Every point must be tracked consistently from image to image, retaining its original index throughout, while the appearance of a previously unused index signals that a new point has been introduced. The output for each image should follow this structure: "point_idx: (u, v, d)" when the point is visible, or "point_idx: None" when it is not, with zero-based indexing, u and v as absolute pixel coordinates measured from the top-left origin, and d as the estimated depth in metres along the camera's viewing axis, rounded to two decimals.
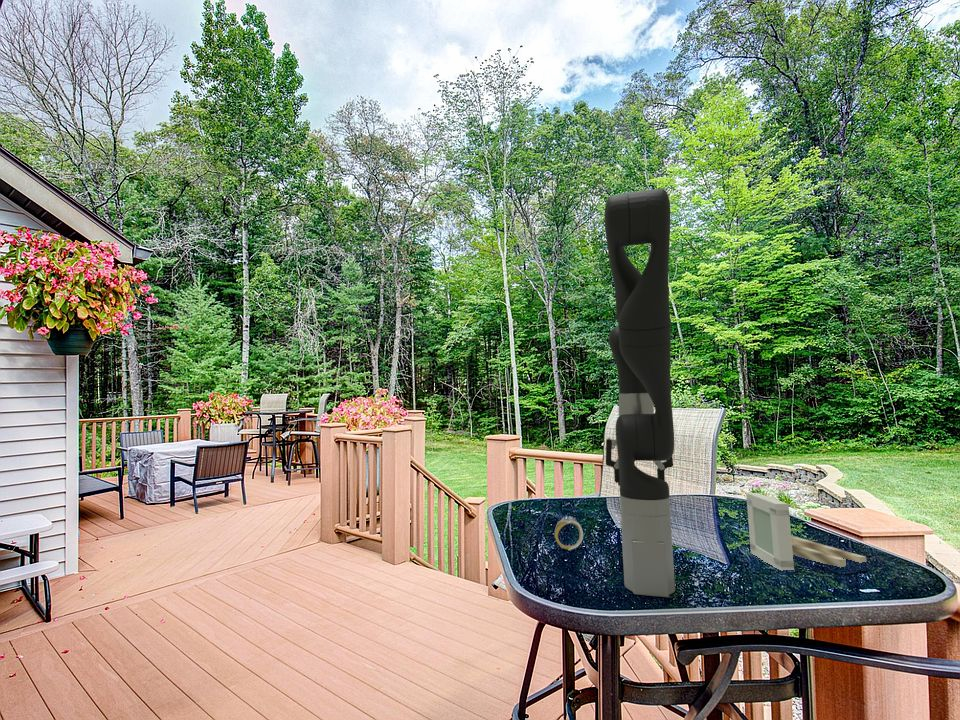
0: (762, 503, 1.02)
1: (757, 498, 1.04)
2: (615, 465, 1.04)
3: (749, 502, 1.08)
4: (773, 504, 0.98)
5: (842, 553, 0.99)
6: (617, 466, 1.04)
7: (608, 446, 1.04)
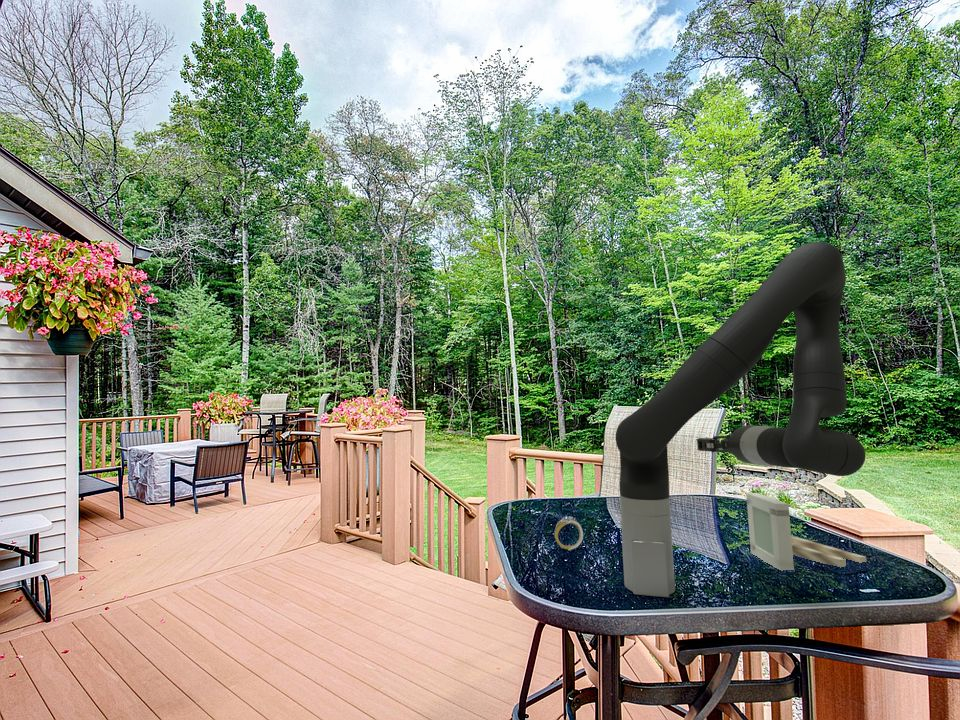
0: (762, 503, 1.02)
1: (757, 498, 1.04)
2: None
3: (749, 502, 1.08)
4: (773, 504, 0.98)
5: (842, 553, 0.99)
6: None
7: None
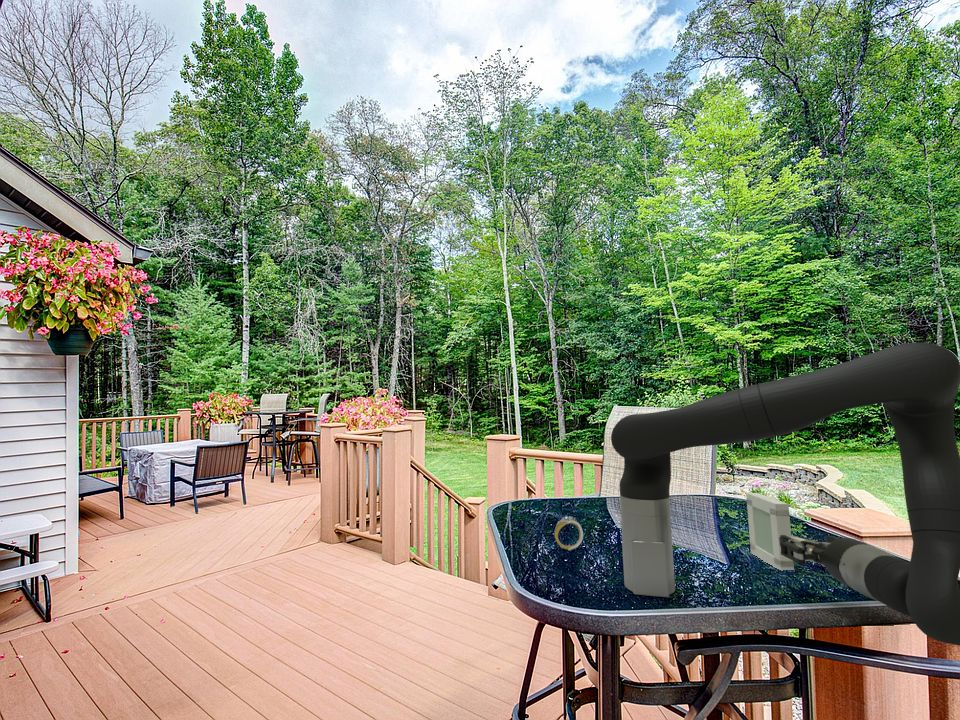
0: (762, 503, 1.02)
1: (757, 498, 1.04)
2: None
3: (749, 502, 1.08)
4: (773, 504, 0.98)
5: None
6: None
7: None
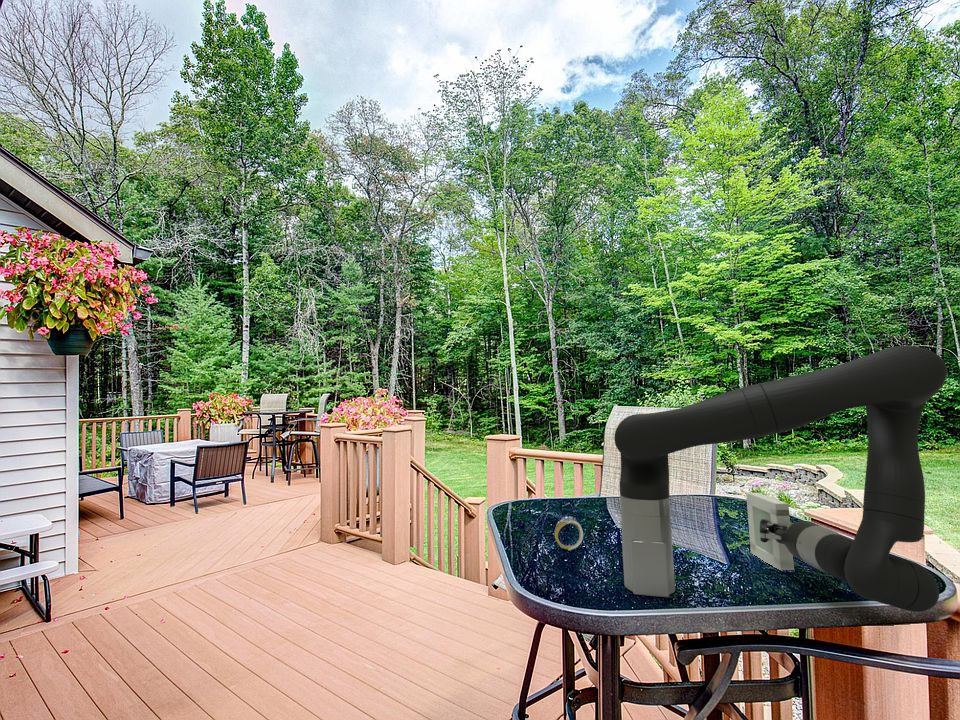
0: (762, 503, 1.02)
1: (757, 498, 1.04)
2: (792, 523, 0.97)
3: (749, 502, 1.08)
4: (773, 504, 0.98)
5: None
6: (790, 523, 0.97)
7: None
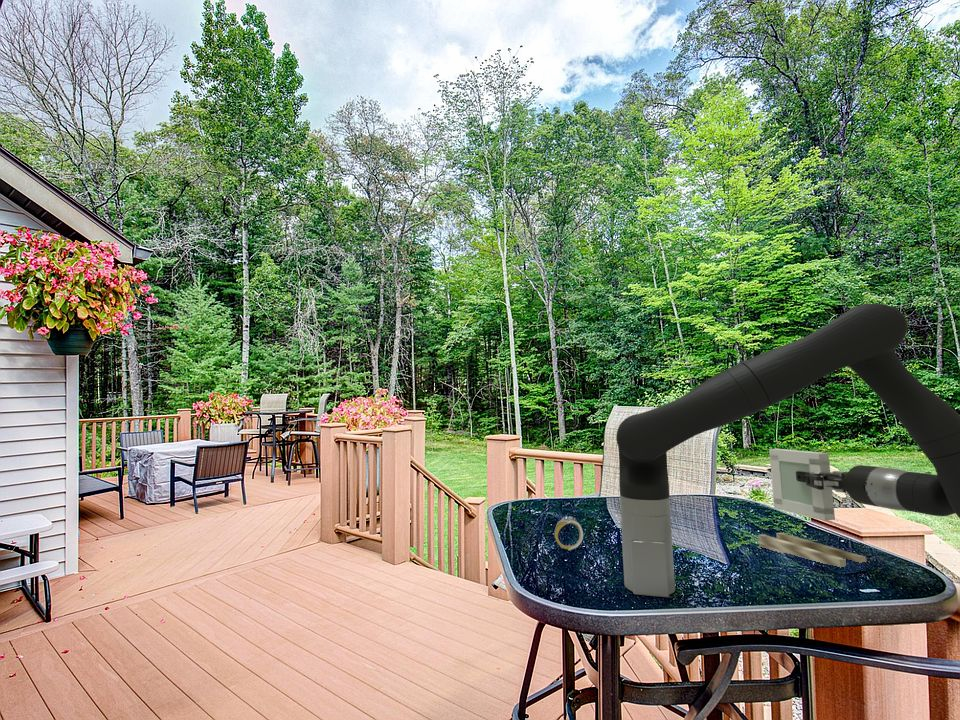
0: (796, 455, 1.04)
1: (788, 452, 1.07)
2: None
3: (773, 458, 1.11)
4: (815, 454, 1.00)
5: (842, 553, 0.99)
6: None
7: None
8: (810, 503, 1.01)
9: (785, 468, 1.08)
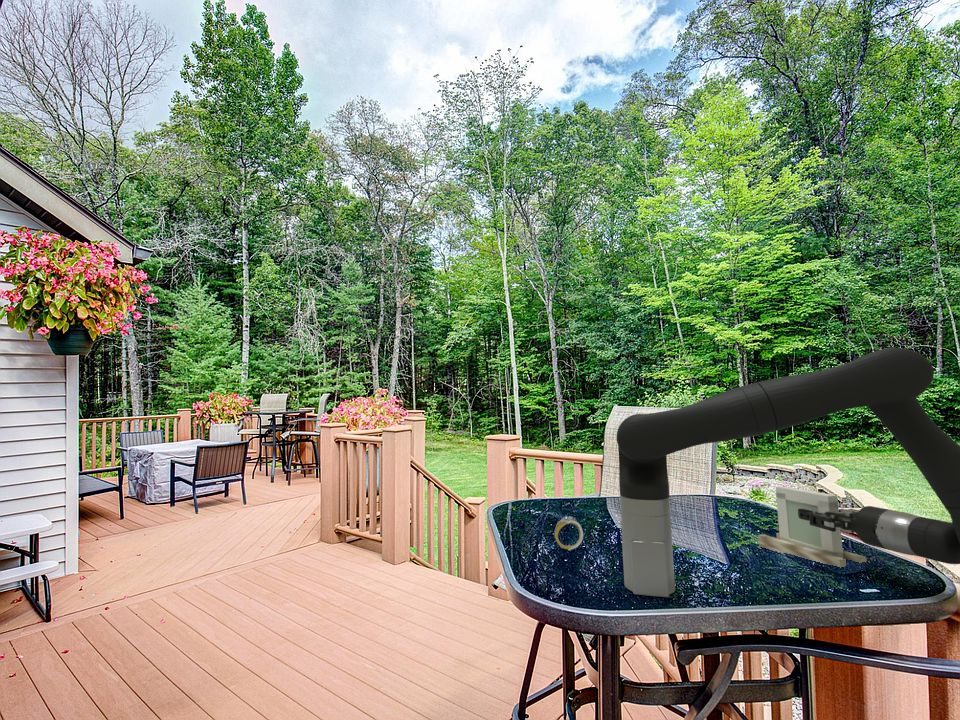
0: (804, 496, 1.04)
1: (795, 491, 1.06)
2: (844, 509, 1.00)
3: (780, 496, 1.10)
4: (824, 496, 0.99)
5: None
6: (841, 509, 1.00)
7: None
8: (818, 545, 1.01)
9: (792, 507, 1.07)
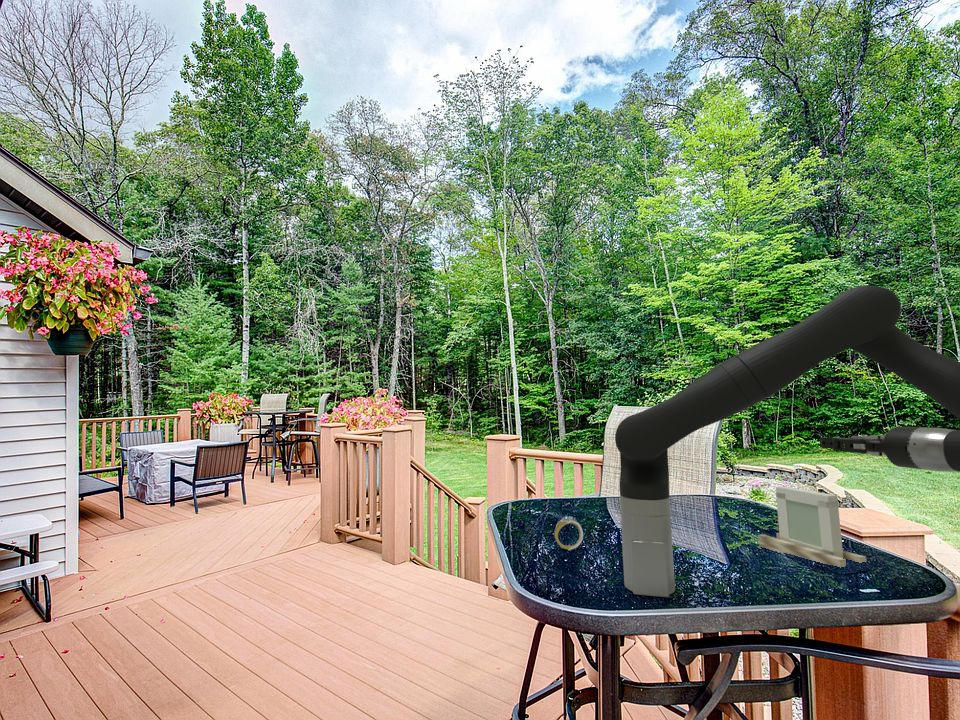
0: (804, 496, 1.04)
1: (795, 491, 1.06)
2: None
3: (780, 496, 1.10)
4: (824, 496, 0.99)
5: None
6: None
7: None
8: (818, 545, 1.01)
9: (792, 507, 1.07)
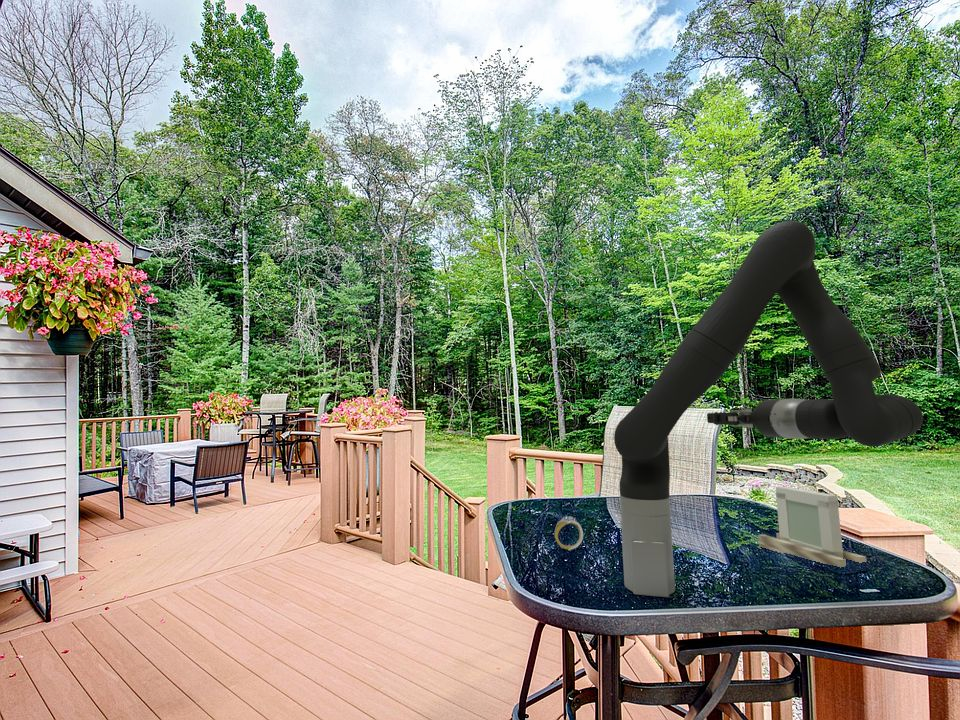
0: (804, 496, 1.04)
1: (795, 491, 1.06)
2: None
3: (780, 496, 1.10)
4: (824, 496, 0.99)
5: None
6: None
7: None
8: (818, 545, 1.01)
9: (792, 507, 1.07)
